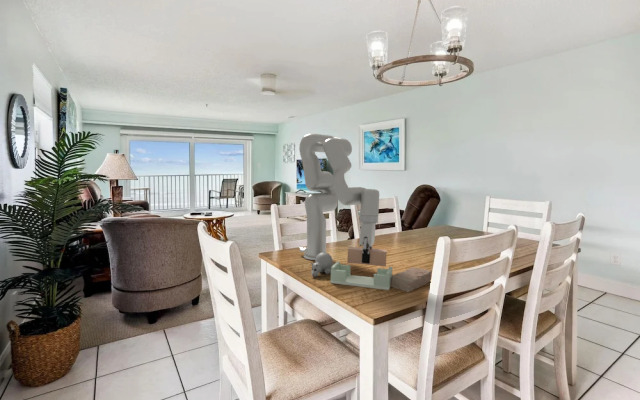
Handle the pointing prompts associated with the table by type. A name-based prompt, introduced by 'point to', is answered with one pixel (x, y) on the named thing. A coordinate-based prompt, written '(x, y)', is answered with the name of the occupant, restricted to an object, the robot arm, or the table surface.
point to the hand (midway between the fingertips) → (366, 260)
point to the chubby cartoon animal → (322, 264)
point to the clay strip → (375, 256)
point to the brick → (411, 279)
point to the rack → (361, 277)
